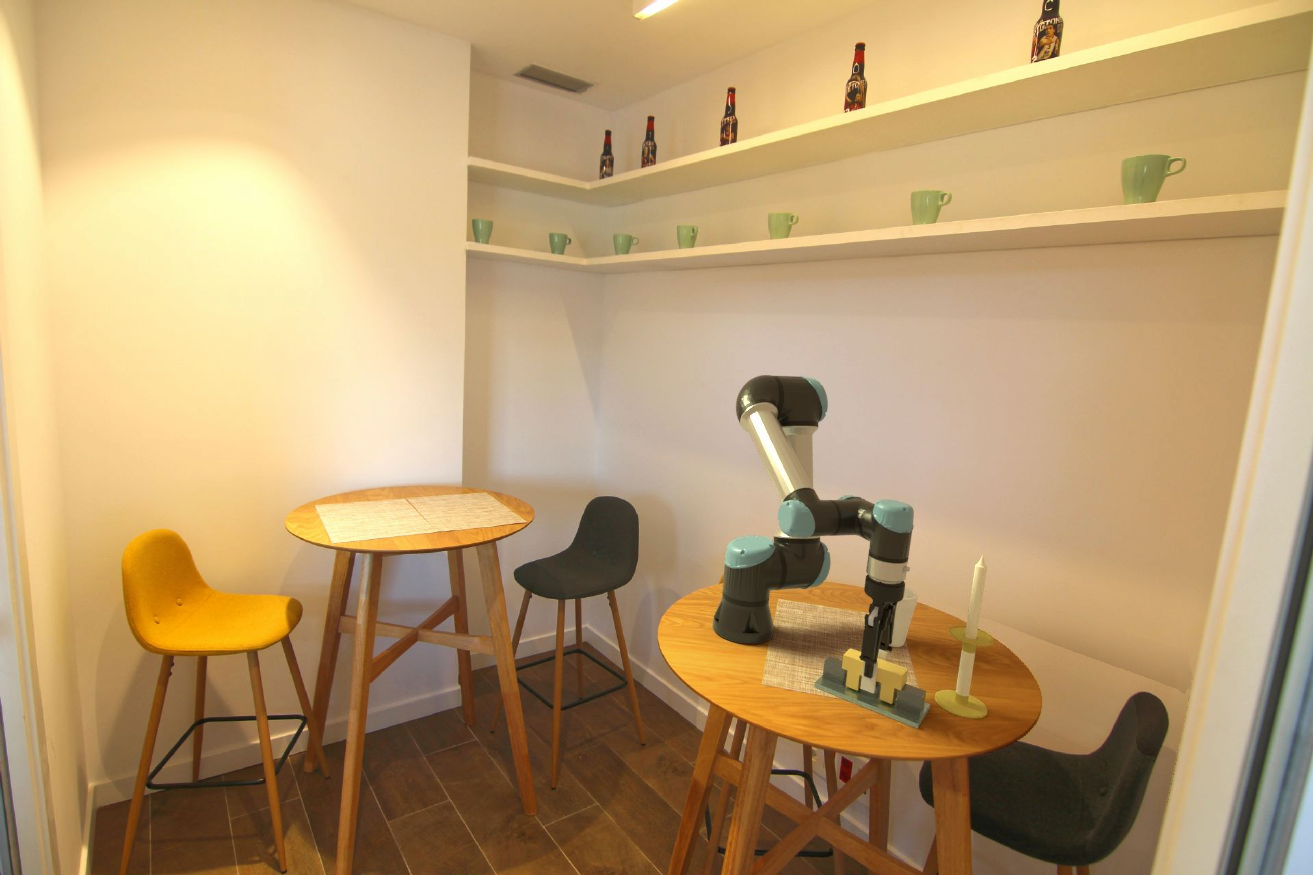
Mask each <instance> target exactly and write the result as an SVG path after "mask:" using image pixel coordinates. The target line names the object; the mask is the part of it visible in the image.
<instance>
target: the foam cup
mask: <svg viewBox="0 0 1313 875" xmlns="http://www.w3.org/2000/svg"><path fill="white" fill-rule="evenodd" d="M918 596H919V595H918V594H917V592H916V591H914V590H913V589H911V588H909V587H906V586H905V590H904V597H903V599H902V600H901V601H899V602H898V603H897V606H896V611H895V620H894V628H893V636H892V643H891V645H890V644H889V646H890V647H893V648H894V647H895V648H899V647H903V646H904V645H905V642H906V639H907V636H908V633H909V629H910V626H911V622H912V620H913V619H912V618H913V616H914V613H915V609H916V607H917V605H918V599H919V598H918Z"/></svg>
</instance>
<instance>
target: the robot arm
mask: <svg viewBox="0 0 1313 875" xmlns="http://www.w3.org/2000/svg"><path fill="white" fill-rule="evenodd" d="M735 401H736V402H735V412H736V417H737V418H736V419H737V420H738V423H739V424H740V427H741V428H742V430H743V431H745V432H747V433H748V434H749V436H750V438H751V441H752V442H753V444H754V447H755V449H756V452H757V453H758V456H759V458H760V459H761V462H762V464H763V466H764V468H765V470H766V472H767V474H768V476H769V478H770V481H771V483H772V485H773V487H774V489H775V491H776V494H777V495H778V503H779V504H778V512H777V520H778V526H779V527H778V530H776V532H775V533H774V534H773V539H771V538H769V537H766V536H761V535H759V536H758V535H757V536H756V535H745V536H739V537H736V538H734V539H732V540H731V541H729V543H728V544H727V546H726V549H725V550H726V552H725V554H724V555H725V556H724V571H723V584H722V596H721V599H720V602H719V604H718V606H717V609H716V611H715V613H714V615H713V619H712V630H713V631H714V632H715V634H717V635H718V636H720V637H721V638H723V639H725V640H728V641H730V642H735V643H739V644H746V645H753V644H754V645H755V644H763V643H765V642H768V641H770V640H771V639H772V637H773V636H774V628H775V626H774V621H773V617H772V612H771V608H770V595H771V594H770V593H771V591H782V590H784V591H785V590H797V589H802V590H807V589H810V588H811V589H812V588H816V587H819V586H821V585H822V584H823V583H824V581H826V580H827V578H828V576H829V573H830V570H831V564H832V562H831V553H830V552H829V548H828V546H827V545H826V543H824V542H823V541H821V537H836V536H839V537H841V536H857V537H860V538H862V539H865V540H866V541H868V542H869V549H868V556H867V563H866V571H865V572H866V575H865V580H864V588H863V589H864V591H863V592H864V594H865V595H866V596H867V597H869V598H870V599H871V600H872V602H871V603H870V604H869V607H868V613H865V615H864V628H863V636H862V643H861V644H862V645H861V651H860V652H861V656H859V658H860V660H862V661H864V662H863V670H862V679H861V687H860V689H863V690H865V691H868V692H871V693H873V694H874V692H875V686H876V678H877V670H878V662H877V658H879V659H882V660H885V661H888V660H887V658H888V652H892V651H893V648H894V647H892V646H889V644H890V645H891V643H892V636H893V628H894V620H895V611H896V606H897V603H898V602H899V601H901V600H902V599H903V597H904V590H905V587H906V582H905V580H906V578H907V572H908V573H909V572H910V570H911V568H910V567H909V566H908V564H909V563H908V562H909V555H910V549H911V542H912V536H913V530H914V527H915V526H914V513H915V510H914V508H913V506H912V505H910V504H909V503H908V502H903V501H900V500H897V499H896V500H895V499H880V500H876V502H875V503H873V502H871V501H868V500H867V499H865V498H862V496H861V497H860V496H854V495H852V494H847V495H846V494H845V495H843V496H841V497H840V498H838V499H820V498H819V496H818V493H817V492H816V490H815V488H814V458H813V456H814V454H813V450H814V449H813V448H814V447H813V435H814V434H815V433H816V432H817V431H818V429H819V423H820V422H823V420H824V419H825V418H826V413H827V412H828V408H829V407H828V406H829V401H828V394H827V392H826V390H825V388H824V386H823V385H822V384H821V382H820V381H819V380H817V379H816V378H812V377H806V376H805V377H804V376H801V375H800V376H797V375H796V376H793V375H791V376H789V375H770V374H763V375H762V374H761V375H758V376H755V377H753V378H750V379H749V380H748V381H747V382H746V383H745V384H744V385H742V388H741V389H740V390H739V392H738V395H737V398H736V400H735Z"/></svg>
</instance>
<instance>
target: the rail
mask: <svg viewBox="0 0 1313 875" xmlns="http://www.w3.org/2000/svg"><path fill="white" fill-rule="evenodd" d="M842 662H843V659H841V658H837V657H834V656H832V655H829V656H828V657H827V658H826V659H824V662H823V668H822V670H823V671H822V675H821V676H820V677H819V678H818V679H817V680H815V682H814V684H813V686H814V688H815V689H818V690H820V691H824V692H826V693H828V694H830V695H833V696H835V697H838V698H840V699H842V700H845V701H848V702H850V703H853V704H855V705H857V706H860V707H862V708H865V709H868V710H870V711H873V712H875V713H878V714H880V715H882V716H885V717H887V718H889V719H892V720H894V721H897V722H900V723H902V724H904V725H907V726H909V727H912V728H915V729H919V727H920V725H921V724H922V722H923V721H924V719H925V717H926V716H927V714H928V713H929V710H930V709H931V703H928V702H926V696H927V690H924V689H922V688H919V687H917V686H914V685H911V684H908V683H906V684H905V685H904V686H903V688H902V689H901V690H898V697H897V698H896V699H895V701H894V702H893V703H892V704H890V703H888V702H885V701H883V700H880V699H879V698H880V691H881V683H880V682H877V681H876V686H875V692H874V694H873V693H871V692H868V691H865V690H863V689H860V688H859V690H858V691H857V690H855V689H852V688H849V687H847V686H846V680H847V671H848V670H845V669H842Z"/></svg>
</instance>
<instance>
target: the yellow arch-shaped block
mask: <svg viewBox="0 0 1313 875" xmlns="http://www.w3.org/2000/svg"><path fill="white" fill-rule="evenodd" d="M859 656H861V651H859V650H857V649H854V648H849V649H847V651H846V652H845V653H843V655H842V660H843V662H842V669H845V670H848V671H847V680H846V686H847V687H849V688H852V689H855V690H857V691H858V690H859V688H860V687H861V679H862V670H863V662H864V661H862V660H860V658H859ZM877 662H878V670H877V678H876V681H877V682H880V683H881V691H880V698H879V699H880V700H883V701H885V702H888V703H890V704H892V703H893V702H894V701H895V699H896V698H897V697H898V690H901V689H902V688H903V686H904V685H905V684H907V681H908V680H907V679H908V674H909V673H908V672H909V668H907V667H905V666H901V665H899V664H896V663H893V662H891V661H888V660H887V661H885V660H882V659H879V658H877Z"/></svg>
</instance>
